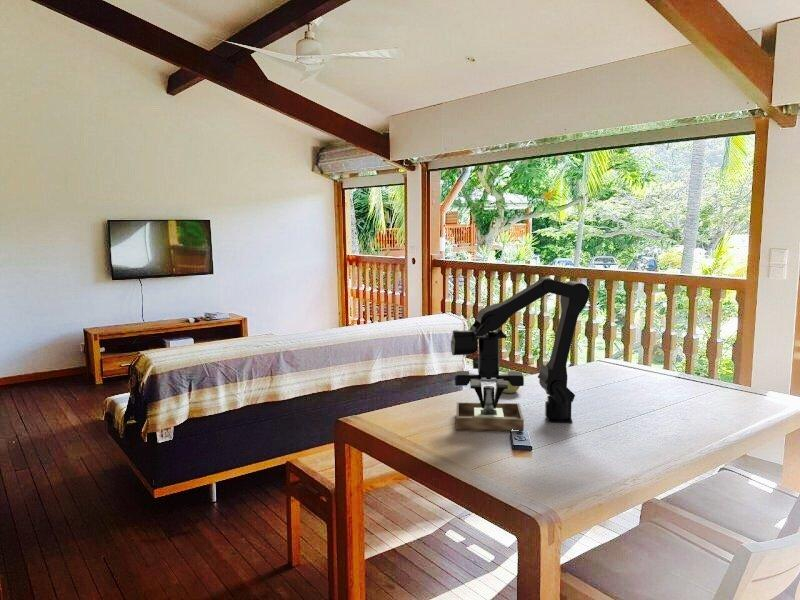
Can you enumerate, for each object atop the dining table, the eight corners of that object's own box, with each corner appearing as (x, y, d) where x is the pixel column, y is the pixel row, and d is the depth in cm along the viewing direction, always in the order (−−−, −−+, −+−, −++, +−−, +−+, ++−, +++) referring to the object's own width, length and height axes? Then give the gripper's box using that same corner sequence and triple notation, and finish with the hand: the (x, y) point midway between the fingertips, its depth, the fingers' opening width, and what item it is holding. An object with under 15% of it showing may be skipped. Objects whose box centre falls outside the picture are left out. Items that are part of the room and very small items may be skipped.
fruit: (515, 396, 191) (515, 372, 190) (494, 393, 195) (494, 369, 194) (524, 390, 198) (524, 367, 197) (503, 387, 202) (503, 364, 200)
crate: (518, 414, 174) (518, 403, 173) (523, 432, 160) (523, 419, 159) (456, 413, 176) (456, 402, 175) (456, 430, 162) (456, 418, 161)
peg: (493, 413, 169) (493, 386, 168) (494, 416, 166) (494, 389, 165) (483, 413, 169) (483, 385, 168) (483, 416, 166) (483, 388, 165)
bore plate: (502, 416, 171) (502, 408, 171) (503, 425, 163) (504, 417, 163) (474, 415, 172) (474, 407, 172) (474, 425, 164) (474, 416, 164)
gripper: (520, 347, 172) (519, 399, 174) (455, 347, 174) (455, 399, 176) (524, 356, 161) (523, 412, 163) (454, 356, 163) (455, 411, 165)
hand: (488, 408), depth 167 cm, fingers closed on peg, 3 cm apart
